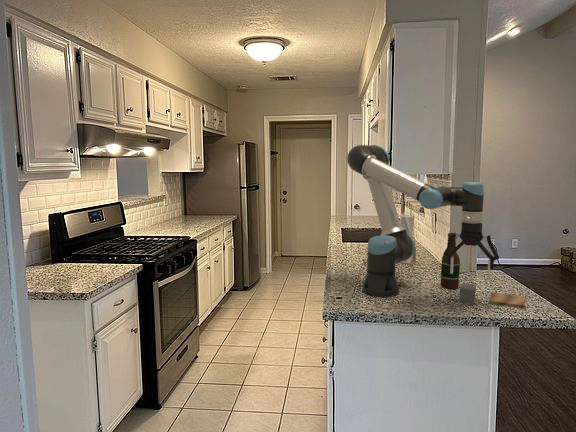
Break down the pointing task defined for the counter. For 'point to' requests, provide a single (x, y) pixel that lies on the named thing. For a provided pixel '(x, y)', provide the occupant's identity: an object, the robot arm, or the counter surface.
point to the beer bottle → (446, 278)
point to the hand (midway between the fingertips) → (469, 274)
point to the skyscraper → (408, 233)
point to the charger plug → (467, 293)
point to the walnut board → (507, 300)
